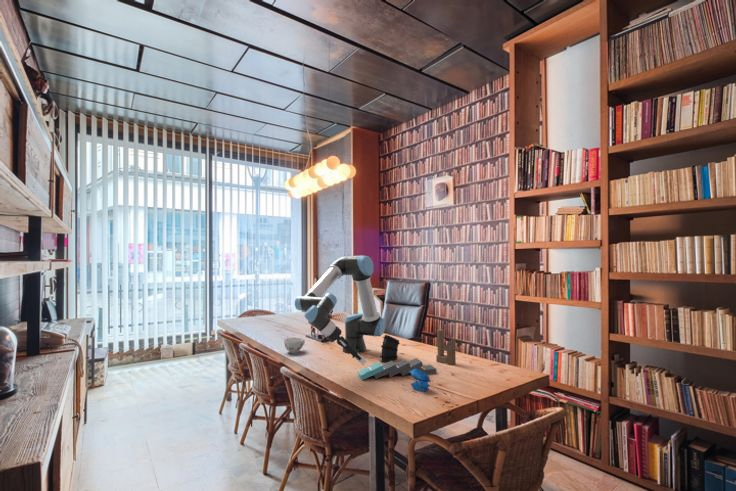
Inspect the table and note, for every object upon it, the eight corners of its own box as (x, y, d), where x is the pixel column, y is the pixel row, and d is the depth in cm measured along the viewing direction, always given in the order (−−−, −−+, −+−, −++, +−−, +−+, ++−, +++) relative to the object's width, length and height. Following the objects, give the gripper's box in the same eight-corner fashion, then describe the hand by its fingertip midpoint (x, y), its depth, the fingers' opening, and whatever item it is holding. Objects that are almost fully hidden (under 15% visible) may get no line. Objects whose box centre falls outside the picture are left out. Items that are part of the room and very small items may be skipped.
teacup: (291, 355, 225) (291, 342, 225) (279, 352, 233) (279, 339, 234) (310, 351, 236) (310, 338, 237) (298, 348, 245) (298, 335, 245)
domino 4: (414, 370, 185) (436, 368, 188) (409, 366, 192) (430, 364, 195) (414, 375, 185) (436, 373, 188) (409, 371, 192) (430, 369, 195)
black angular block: (376, 360, 207) (383, 334, 212) (390, 366, 216) (397, 340, 221) (381, 361, 205) (388, 335, 210) (395, 367, 213) (402, 341, 218)
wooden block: (452, 365, 202) (451, 332, 202) (436, 361, 210) (435, 329, 210) (456, 364, 204) (455, 331, 205) (440, 360, 212) (439, 329, 213)
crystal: (429, 379, 159) (405, 368, 166) (425, 397, 160) (402, 386, 167) (436, 374, 165) (413, 364, 172) (432, 392, 166) (409, 381, 173)
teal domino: (360, 375, 179) (382, 365, 181) (357, 371, 185) (378, 361, 188) (362, 380, 179) (384, 370, 182) (359, 375, 186) (380, 365, 188)
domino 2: (388, 373, 182) (409, 362, 186) (383, 369, 189) (403, 358, 192) (389, 377, 182) (410, 367, 186) (385, 373, 189) (405, 363, 192)
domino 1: (374, 374, 180) (395, 364, 183) (370, 370, 187) (391, 360, 190) (376, 379, 180) (397, 368, 183) (372, 374, 187) (393, 364, 190)
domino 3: (401, 371, 184) (421, 361, 187) (396, 367, 191) (416, 357, 194) (402, 376, 184) (423, 365, 187) (397, 372, 191) (417, 362, 194)
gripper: (324, 334, 185) (356, 365, 189) (327, 340, 173) (362, 372, 176) (334, 323, 187) (366, 354, 190) (338, 328, 174) (372, 360, 177)
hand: (364, 363), depth 183 cm, fingers closed
